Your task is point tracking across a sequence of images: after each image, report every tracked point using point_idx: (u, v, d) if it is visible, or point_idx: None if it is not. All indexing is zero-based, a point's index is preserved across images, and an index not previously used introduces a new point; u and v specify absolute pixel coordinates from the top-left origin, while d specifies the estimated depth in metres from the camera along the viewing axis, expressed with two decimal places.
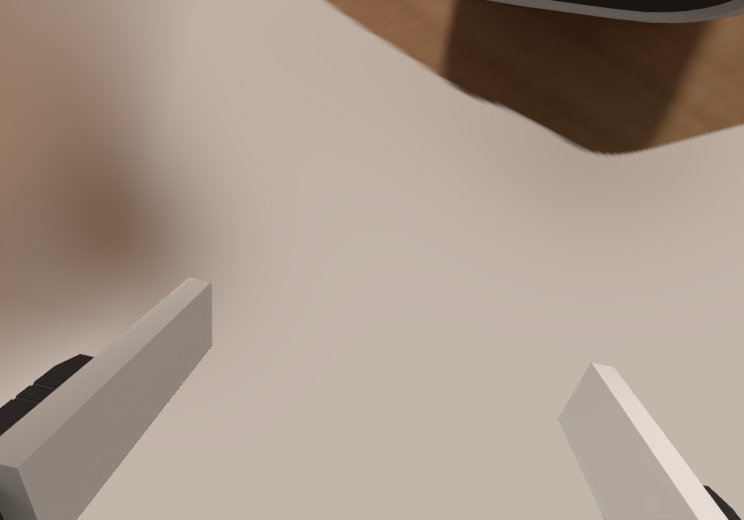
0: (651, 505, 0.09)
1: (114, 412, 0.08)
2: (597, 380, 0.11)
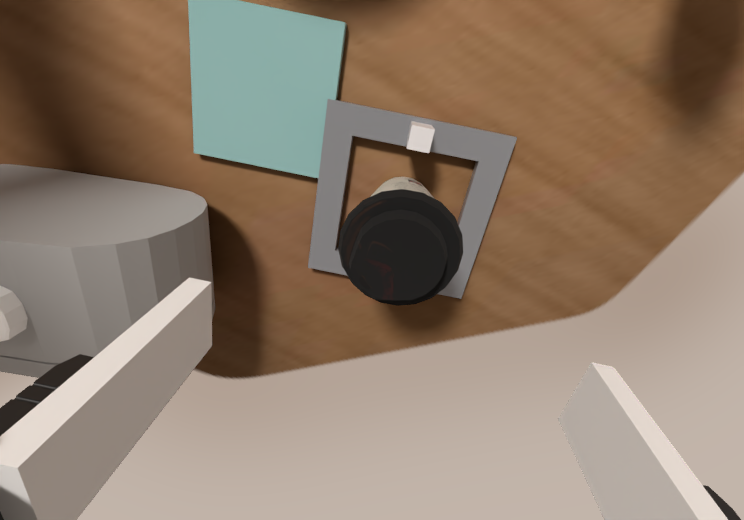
0: (651, 505, 0.09)
1: (114, 412, 0.08)
2: (597, 380, 0.11)
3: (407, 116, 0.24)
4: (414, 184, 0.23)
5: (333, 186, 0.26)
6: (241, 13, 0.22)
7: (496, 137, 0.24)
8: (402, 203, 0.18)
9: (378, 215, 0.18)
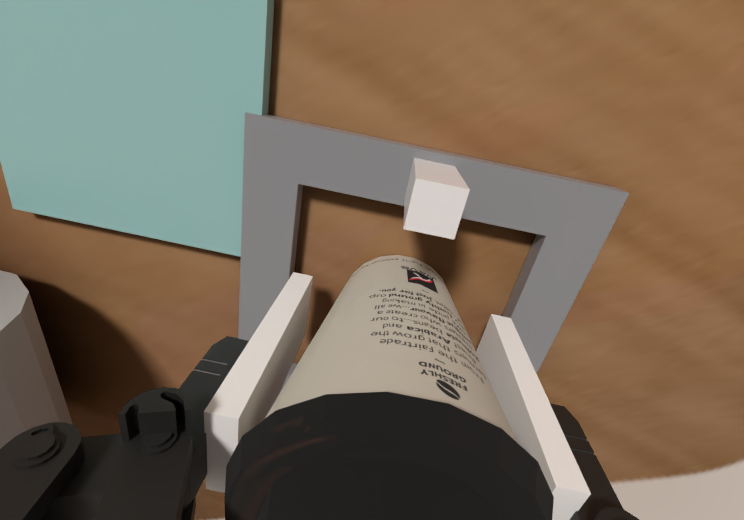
0: (510, 418, 0.10)
1: (269, 383, 0.10)
2: (493, 328, 0.13)
3: (406, 149, 0.12)
4: (420, 297, 0.11)
5: (268, 272, 0.14)
6: None
7: (586, 193, 0.12)
8: (386, 445, 0.06)
9: (317, 470, 0.06)
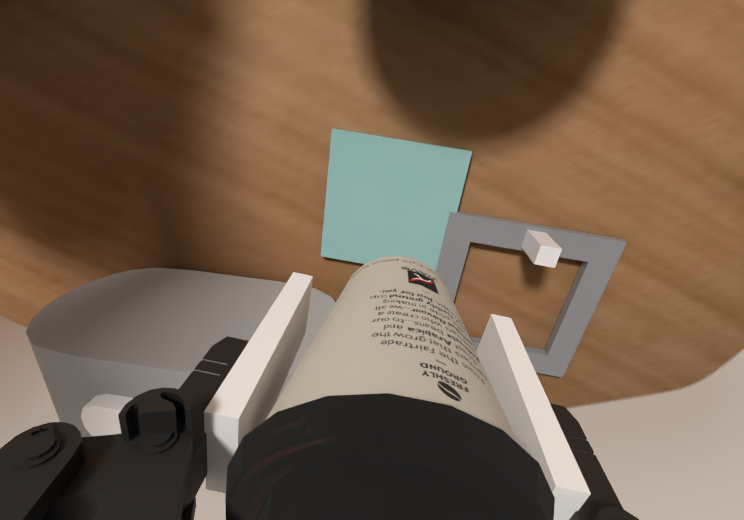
0: (510, 419, 0.10)
1: (269, 383, 0.10)
2: (493, 328, 0.13)
3: (523, 226, 0.26)
4: (420, 297, 0.11)
5: (448, 283, 0.29)
6: (378, 146, 0.25)
7: (606, 242, 0.26)
8: (387, 447, 0.06)
9: (318, 472, 0.06)
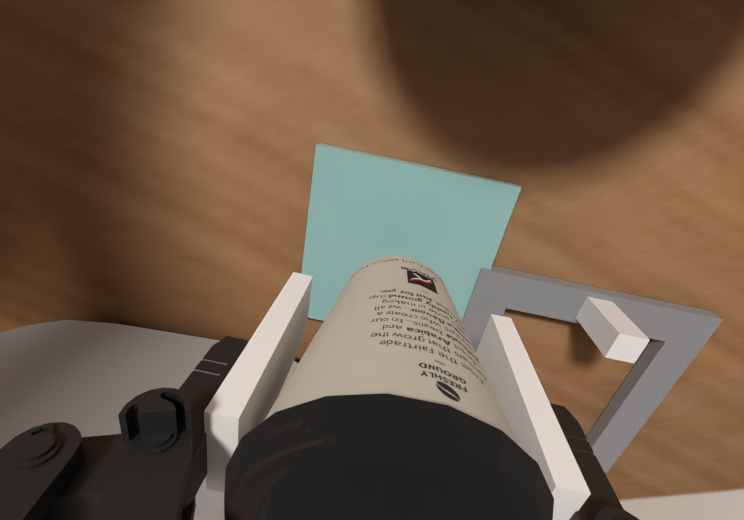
0: (510, 419, 0.10)
1: (269, 383, 0.10)
2: (493, 327, 0.13)
3: (583, 291, 0.19)
4: (420, 297, 0.11)
5: None
6: (383, 172, 0.17)
7: (695, 318, 0.19)
8: (386, 447, 0.06)
9: (317, 473, 0.06)
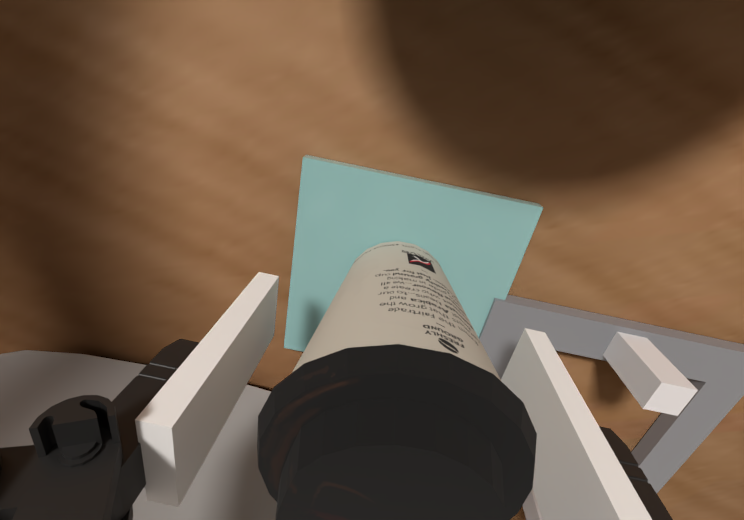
0: (555, 443, 0.10)
1: (220, 388, 0.09)
2: (527, 343, 0.12)
3: (612, 326, 0.16)
4: (420, 275, 0.12)
5: None
6: (381, 189, 0.15)
7: (742, 357, 0.16)
8: (399, 386, 0.07)
9: (341, 410, 0.07)
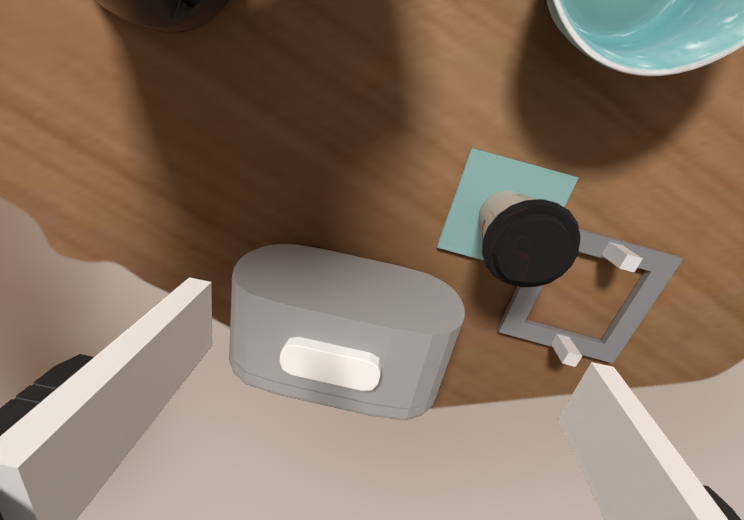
0: (651, 504, 0.09)
1: (114, 412, 0.08)
2: (597, 380, 0.11)
3: (606, 238, 0.34)
4: (529, 197, 0.30)
5: None
6: (505, 165, 0.32)
7: (668, 257, 0.34)
8: (543, 209, 0.25)
9: (524, 217, 0.25)
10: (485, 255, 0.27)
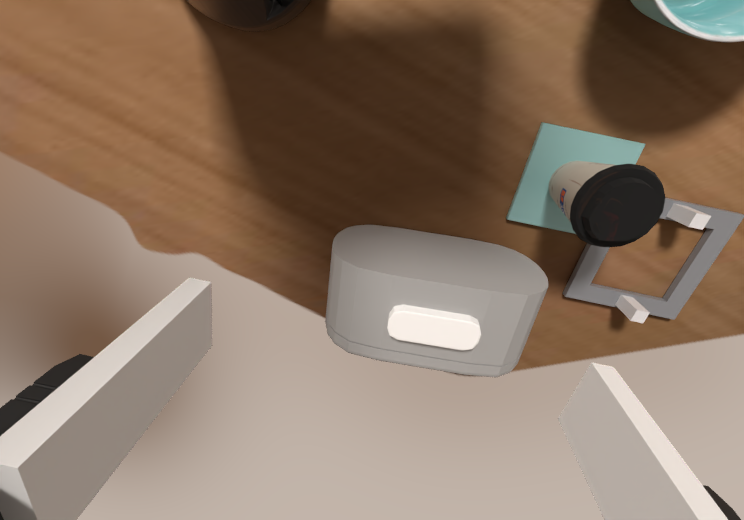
0: (651, 505, 0.09)
1: (114, 412, 0.08)
2: (597, 380, 0.11)
3: (671, 200, 0.36)
4: None
5: None
6: (575, 136, 0.35)
7: (730, 215, 0.36)
8: (631, 173, 0.27)
9: (613, 181, 0.27)
10: (574, 219, 0.29)
